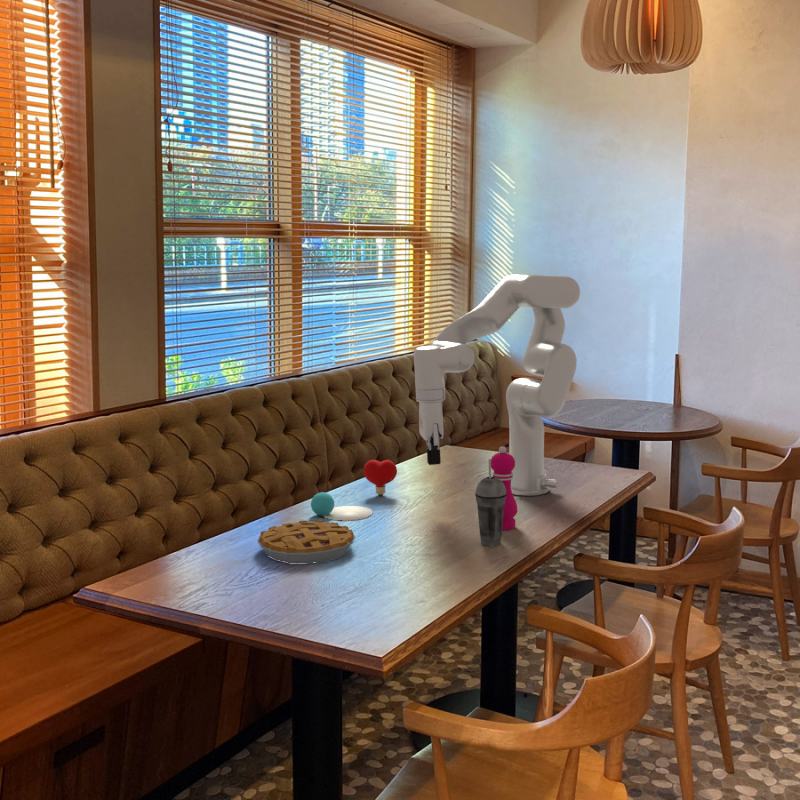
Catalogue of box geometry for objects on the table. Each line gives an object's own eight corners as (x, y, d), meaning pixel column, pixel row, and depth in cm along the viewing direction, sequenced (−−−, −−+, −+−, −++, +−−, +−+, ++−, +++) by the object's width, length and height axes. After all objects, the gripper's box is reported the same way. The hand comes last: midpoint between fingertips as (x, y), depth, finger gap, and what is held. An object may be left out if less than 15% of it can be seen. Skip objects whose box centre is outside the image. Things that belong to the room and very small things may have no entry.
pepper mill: (521, 524, 228) (521, 444, 225) (512, 532, 221) (512, 450, 218) (493, 521, 231) (493, 442, 228) (483, 529, 224) (483, 448, 221)
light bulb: (398, 492, 260) (398, 457, 258) (396, 499, 253) (395, 463, 251) (365, 492, 261) (364, 457, 259) (362, 498, 254) (361, 462, 252)
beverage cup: (509, 539, 216) (510, 455, 213) (502, 549, 209) (503, 462, 206) (479, 536, 218) (479, 453, 215) (471, 546, 212) (471, 460, 208)
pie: (278, 574, 196) (277, 551, 195) (245, 546, 215) (244, 525, 214) (371, 557, 206) (370, 535, 205) (332, 531, 225) (331, 511, 224)
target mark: (381, 509, 242) (381, 509, 242) (357, 523, 231) (357, 522, 231) (338, 504, 248) (338, 503, 248) (312, 517, 237) (312, 516, 237)
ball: (302, 508, 238) (320, 522, 239) (313, 503, 233) (330, 517, 234) (314, 490, 241) (331, 504, 243) (324, 485, 236) (342, 499, 238)
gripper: (411, 390, 245) (415, 458, 248) (421, 400, 230) (424, 472, 234) (439, 388, 246) (442, 455, 249) (450, 398, 231) (454, 469, 235)
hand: (434, 463), depth 241 cm, fingers closed
